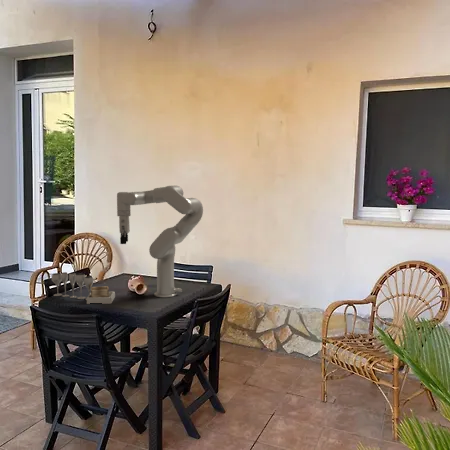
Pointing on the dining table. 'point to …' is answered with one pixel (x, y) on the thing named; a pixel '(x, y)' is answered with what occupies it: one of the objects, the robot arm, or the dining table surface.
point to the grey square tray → (101, 299)
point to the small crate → (100, 291)
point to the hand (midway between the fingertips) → (124, 242)
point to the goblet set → (72, 282)
